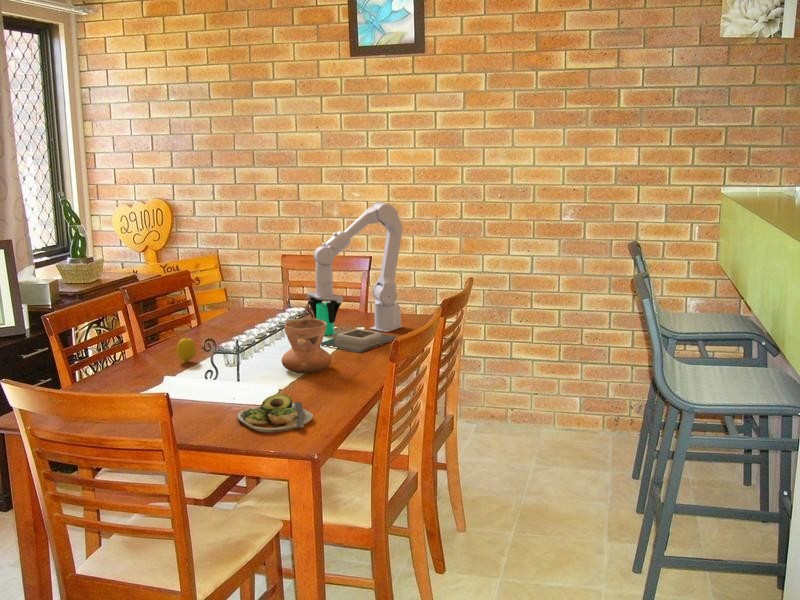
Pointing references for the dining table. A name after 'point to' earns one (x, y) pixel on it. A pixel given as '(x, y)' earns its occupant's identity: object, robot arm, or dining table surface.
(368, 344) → the candle base
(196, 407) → the dining table surface
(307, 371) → the ceramic jug
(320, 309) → the candle
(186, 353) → the lemon
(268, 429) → the salad plate
